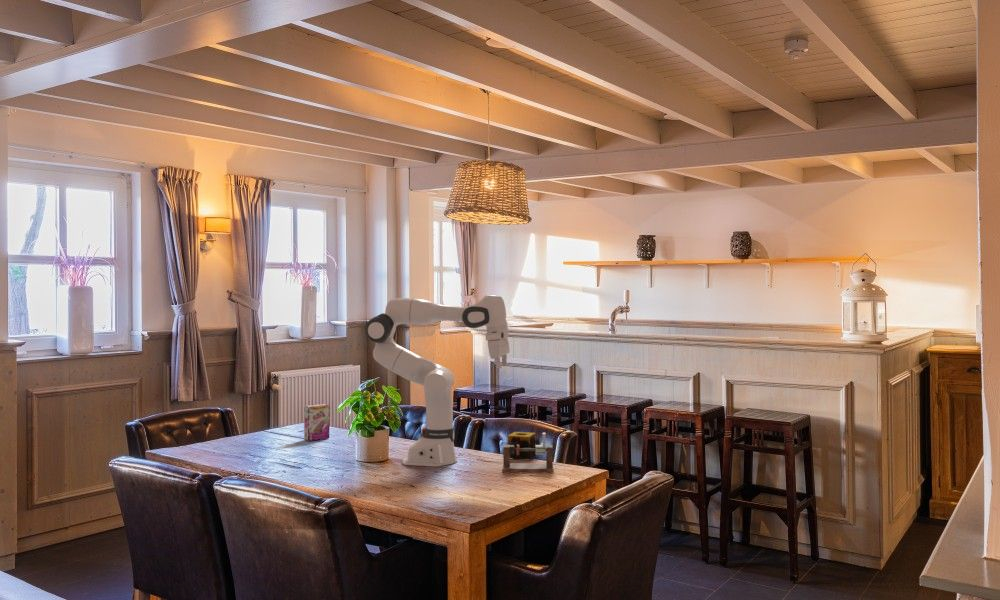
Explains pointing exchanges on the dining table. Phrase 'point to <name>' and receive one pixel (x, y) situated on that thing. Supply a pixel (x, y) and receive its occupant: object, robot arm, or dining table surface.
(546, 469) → the rod stand
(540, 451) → the sleeve
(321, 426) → the candy bar box
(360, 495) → the dining table surface
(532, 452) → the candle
